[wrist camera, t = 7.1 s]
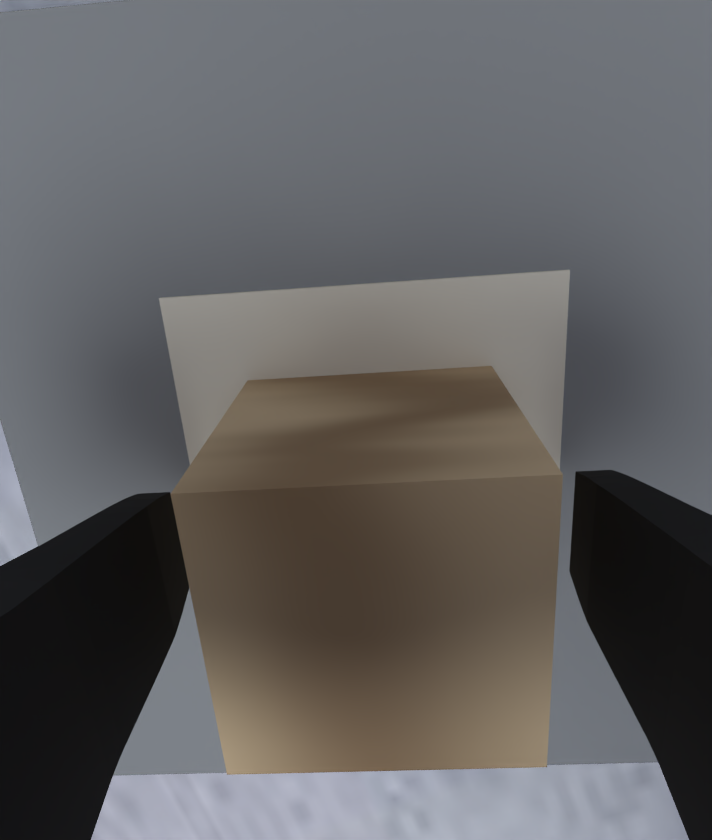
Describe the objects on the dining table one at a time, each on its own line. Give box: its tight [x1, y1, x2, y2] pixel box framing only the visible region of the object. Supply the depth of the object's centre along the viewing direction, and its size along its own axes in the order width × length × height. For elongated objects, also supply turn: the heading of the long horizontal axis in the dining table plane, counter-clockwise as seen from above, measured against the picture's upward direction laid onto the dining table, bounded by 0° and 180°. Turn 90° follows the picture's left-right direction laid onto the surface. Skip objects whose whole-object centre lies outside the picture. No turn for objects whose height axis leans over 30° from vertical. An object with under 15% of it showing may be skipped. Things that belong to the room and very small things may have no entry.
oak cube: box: [171, 366, 563, 774], centre depth 11 cm, size 5×5×5 cm
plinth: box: [0, 0, 712, 775], centre depth 14 cm, size 16×18×3 cm
